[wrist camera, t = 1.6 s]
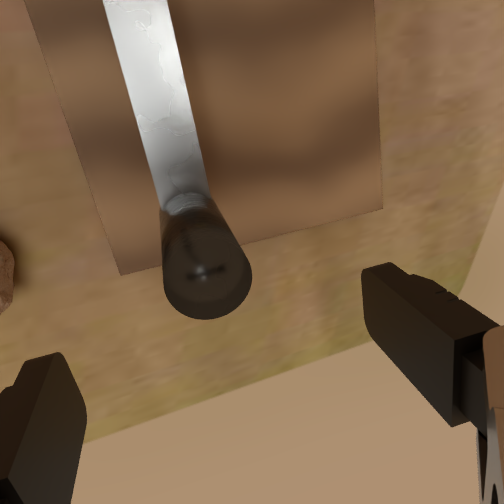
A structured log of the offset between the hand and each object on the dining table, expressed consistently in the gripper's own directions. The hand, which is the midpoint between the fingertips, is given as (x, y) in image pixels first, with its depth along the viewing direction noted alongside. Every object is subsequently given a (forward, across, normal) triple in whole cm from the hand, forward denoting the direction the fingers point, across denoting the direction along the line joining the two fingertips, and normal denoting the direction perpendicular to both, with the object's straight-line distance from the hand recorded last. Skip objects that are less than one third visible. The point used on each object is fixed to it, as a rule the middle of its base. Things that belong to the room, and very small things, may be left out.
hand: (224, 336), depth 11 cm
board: (+16, -4, -9) cm, 19 cm away
